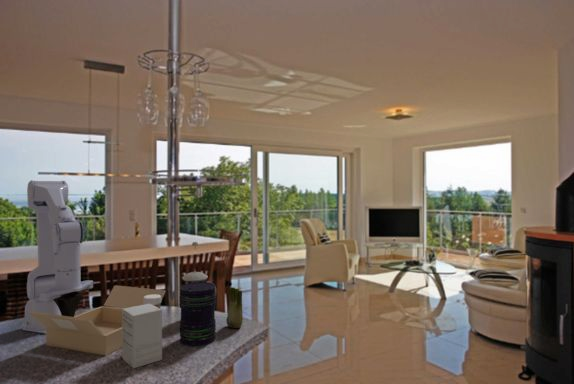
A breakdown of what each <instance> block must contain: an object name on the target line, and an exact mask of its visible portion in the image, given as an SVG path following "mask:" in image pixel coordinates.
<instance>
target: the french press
mask: <svg viewBox="0 0 574 384" xmlns="http://www.w3.org/2000/svg"><path fill="white" fill-rule="evenodd" d="M191 246H192V247H194V249H196V248H197V246H199V242H198V241H193V242H192V243H191ZM208 277H209V276H208V275H207V274H206V273H204V272H200V271H196V270H194V271H191V272H188V273H186V274H185V275H184V276H181V278H182V280H183V281H184V282H202V281H205V280H207V279H208ZM206 283H212V284H214V283H213V282H212V281H211V280H207V281H206ZM215 294H216V295H217V287H216V286H215ZM180 321H181V318H180V319H178V322H179V323H180Z"/></svg>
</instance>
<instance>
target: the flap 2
mask: <svg viewBox="0 0 574 384" xmlns="http://www.w3.org/2000/svg"><path fill="white" fill-rule="evenodd" d="M152 294H157V295H160V296H161V302H162V300H163V298H164V296H165V294H166V290H164V289H155V288H145V287H138V286H137V287H135V286H127V285H117V284H116V285H113V288H112V289H111V291H110V293H109V294H108V297H107V299H106V300H105V302H104V303H103V306H105V307H113V308H121V309H124V308H129V307H134V306H139V305H144V304H143V298H144V296H146V295H152Z"/></svg>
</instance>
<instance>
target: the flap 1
mask: <svg viewBox="0 0 574 384" xmlns="http://www.w3.org/2000/svg"><path fill="white" fill-rule="evenodd" d="M29 313H30V314H31V315H32V316H33V317H34V318H35V319H36V320H37V321H38V322H39V323H40V324H41V325H43V326H44V327H45V328H50V329H56V330H63V331H69V332H76V333H82V334H89V335H95V336H102V337H103V336H104V334H103V333H102V332H101V331H100V330H99V329H98V328H97V327H96V325H95V324H94V323H93V322H92V321H91V320H90V319H84V318H76V317H69V316H62V315H55V314H47V313H40V312H33V311H30V312H29Z"/></svg>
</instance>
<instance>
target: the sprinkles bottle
mask: <svg viewBox="0 0 574 384" xmlns="http://www.w3.org/2000/svg"><path fill="white" fill-rule="evenodd" d="M143 304H152V305H154V306H156V307H158V308H160V309H161V304H162V301H161V296H160V295H157V294H152V295H146V296H144V298H143Z"/></svg>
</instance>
